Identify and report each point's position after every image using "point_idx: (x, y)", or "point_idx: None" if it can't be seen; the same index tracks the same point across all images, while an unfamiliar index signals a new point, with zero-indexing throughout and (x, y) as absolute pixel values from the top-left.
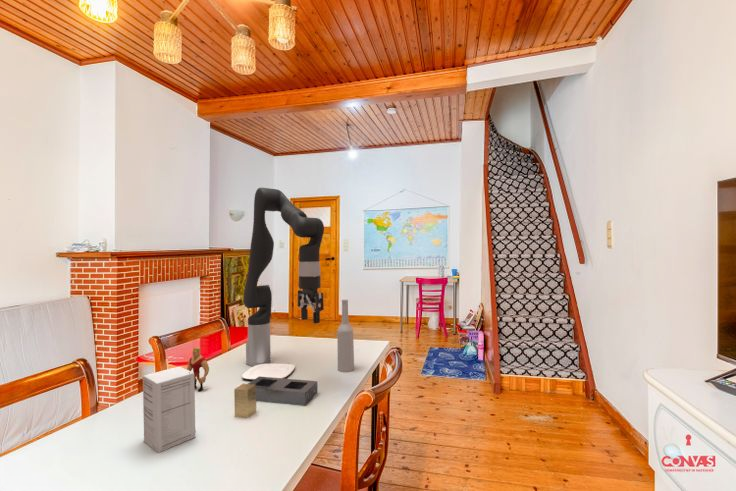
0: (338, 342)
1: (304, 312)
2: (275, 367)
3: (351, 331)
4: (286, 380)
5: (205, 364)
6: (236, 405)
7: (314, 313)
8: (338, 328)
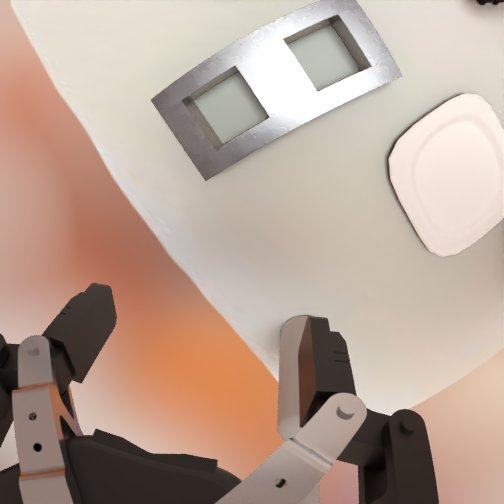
0: None
1: (306, 382)
2: (476, 217)
3: (277, 428)
4: (292, 110)
5: None
6: None
7: (53, 335)
8: None
